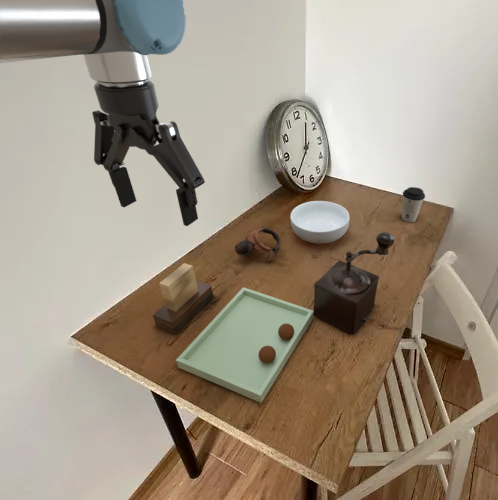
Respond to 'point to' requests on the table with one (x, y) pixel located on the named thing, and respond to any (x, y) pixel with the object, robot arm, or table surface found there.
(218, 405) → the table surface
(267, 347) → the cork ball
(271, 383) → the tray
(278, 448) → the table surface
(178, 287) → the chalkboard eraser
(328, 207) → the cereal bowl
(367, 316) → the manual coffee grinder
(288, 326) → the cork ball
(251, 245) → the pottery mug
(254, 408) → the table surface
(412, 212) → the coffee cup
